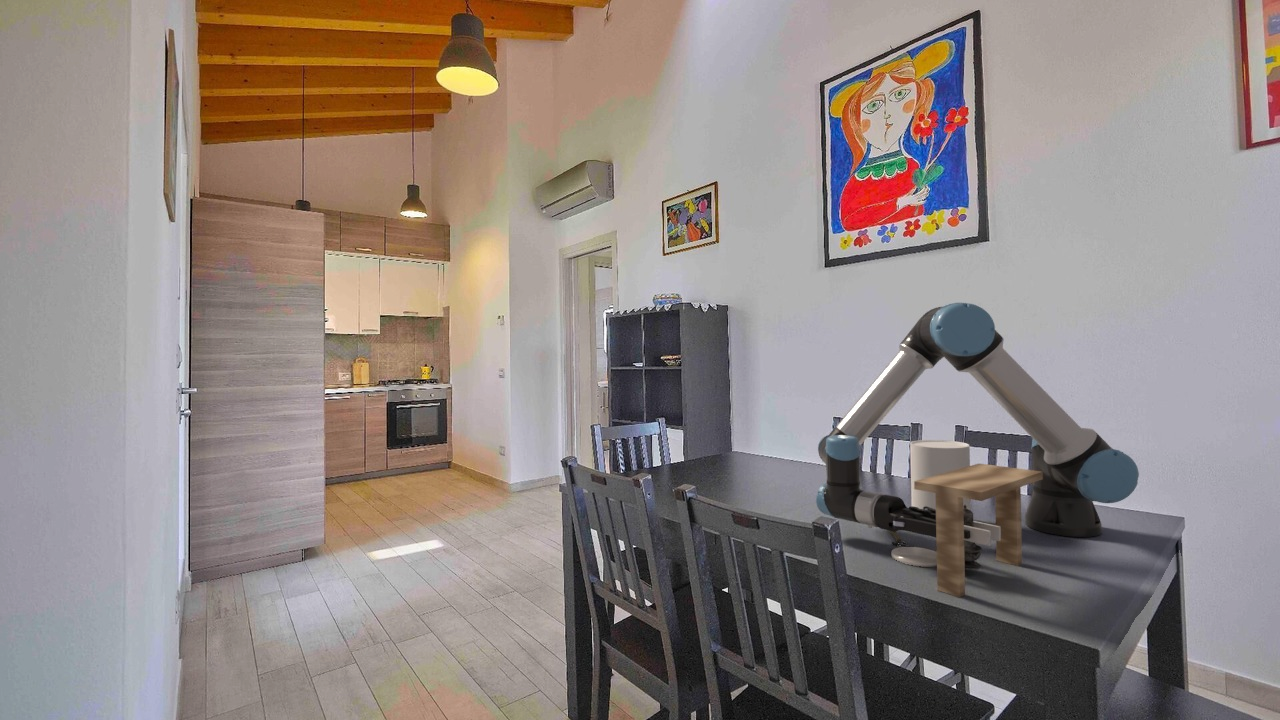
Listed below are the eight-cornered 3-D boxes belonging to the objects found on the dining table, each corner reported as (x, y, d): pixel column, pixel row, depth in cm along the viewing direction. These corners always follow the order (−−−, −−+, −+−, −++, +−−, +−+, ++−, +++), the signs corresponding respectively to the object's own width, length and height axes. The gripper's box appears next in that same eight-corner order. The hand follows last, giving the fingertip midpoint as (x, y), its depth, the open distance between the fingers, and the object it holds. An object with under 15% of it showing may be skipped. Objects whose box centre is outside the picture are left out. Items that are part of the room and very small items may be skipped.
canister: (917, 528, 146) (915, 447, 146) (907, 513, 159) (906, 439, 159) (977, 531, 142) (976, 448, 142) (963, 515, 155) (961, 440, 155)
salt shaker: (942, 560, 119) (941, 501, 119) (970, 558, 120) (969, 500, 119) (961, 571, 113) (960, 509, 113) (989, 569, 114) (988, 507, 114)
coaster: (931, 550, 129) (931, 546, 129) (952, 566, 119) (952, 563, 119) (884, 550, 130) (884, 546, 130) (901, 566, 120) (901, 563, 120)
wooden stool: (916, 583, 111) (914, 481, 111) (980, 553, 127) (978, 463, 127) (983, 604, 102) (981, 492, 102) (1044, 569, 117) (1042, 471, 117)
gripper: (902, 520, 136) (1013, 546, 117) (860, 535, 126) (974, 565, 107) (901, 488, 136) (1013, 508, 117) (859, 500, 126) (973, 524, 107)
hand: (994, 535), depth 112 cm, fingers closed on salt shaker, 4 cm apart
